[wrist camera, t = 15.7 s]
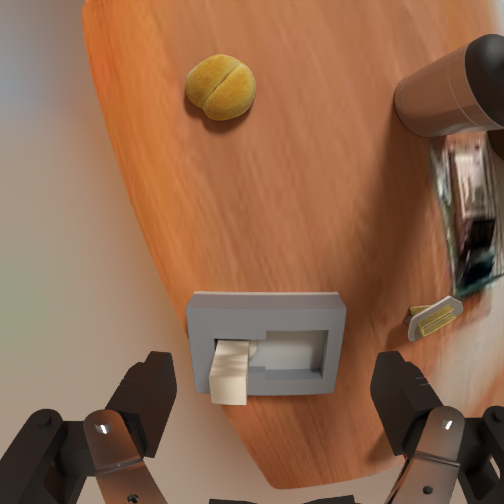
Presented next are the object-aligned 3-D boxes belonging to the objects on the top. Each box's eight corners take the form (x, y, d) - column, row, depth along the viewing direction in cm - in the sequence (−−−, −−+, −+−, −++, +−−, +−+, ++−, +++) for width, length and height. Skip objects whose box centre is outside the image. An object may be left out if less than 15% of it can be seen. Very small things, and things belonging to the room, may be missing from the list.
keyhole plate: (337, 291, 42) (346, 308, 37) (327, 371, 46) (333, 393, 40) (194, 291, 43) (185, 307, 37) (202, 370, 46) (195, 392, 41)
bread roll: (226, 133, 37) (222, 129, 33) (178, 91, 36) (170, 83, 32) (271, 89, 36) (272, 81, 32) (222, 49, 34) (218, 37, 30)
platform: (362, 298, 43) (376, 318, 36) (458, 246, 40) (481, 257, 34) (382, 356, 45) (395, 379, 39) (468, 307, 43) (489, 323, 36)
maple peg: (257, 320, 42) (254, 372, 31) (257, 355, 44) (254, 411, 32) (214, 319, 43) (198, 370, 31) (216, 354, 44) (203, 408, 33)
